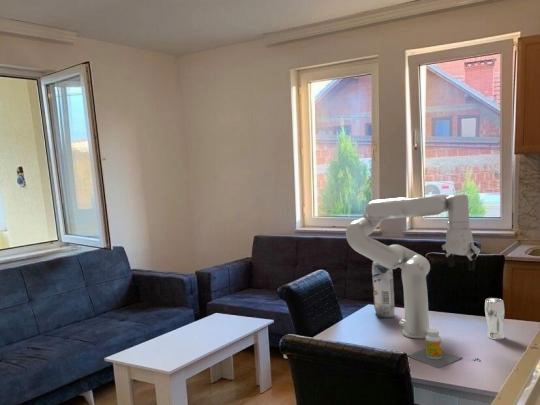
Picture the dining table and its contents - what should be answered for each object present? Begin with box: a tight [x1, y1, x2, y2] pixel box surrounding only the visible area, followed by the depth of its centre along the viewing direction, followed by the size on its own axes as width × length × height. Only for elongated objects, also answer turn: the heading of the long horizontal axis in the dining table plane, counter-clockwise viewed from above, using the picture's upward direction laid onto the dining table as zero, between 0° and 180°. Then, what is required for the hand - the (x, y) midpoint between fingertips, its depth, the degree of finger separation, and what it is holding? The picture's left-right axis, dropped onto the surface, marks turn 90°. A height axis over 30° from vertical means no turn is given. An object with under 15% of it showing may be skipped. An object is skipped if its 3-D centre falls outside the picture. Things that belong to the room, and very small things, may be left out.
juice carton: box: [371, 260, 395, 318], centre depth 218 cm, size 9×10×27 cm
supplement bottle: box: [425, 328, 443, 359], centre depth 166 cm, size 5×5×10 cm
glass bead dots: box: [472, 357, 482, 362], centre depth 161 cm, size 2×3×1 cm
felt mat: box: [408, 348, 463, 369], centre depth 166 cm, size 14×13×1 cm
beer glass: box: [484, 297, 505, 340], centre depth 181 cm, size 7×7×15 cm
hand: (461, 268), depth 180 cm, fingers open, 9 cm apart
